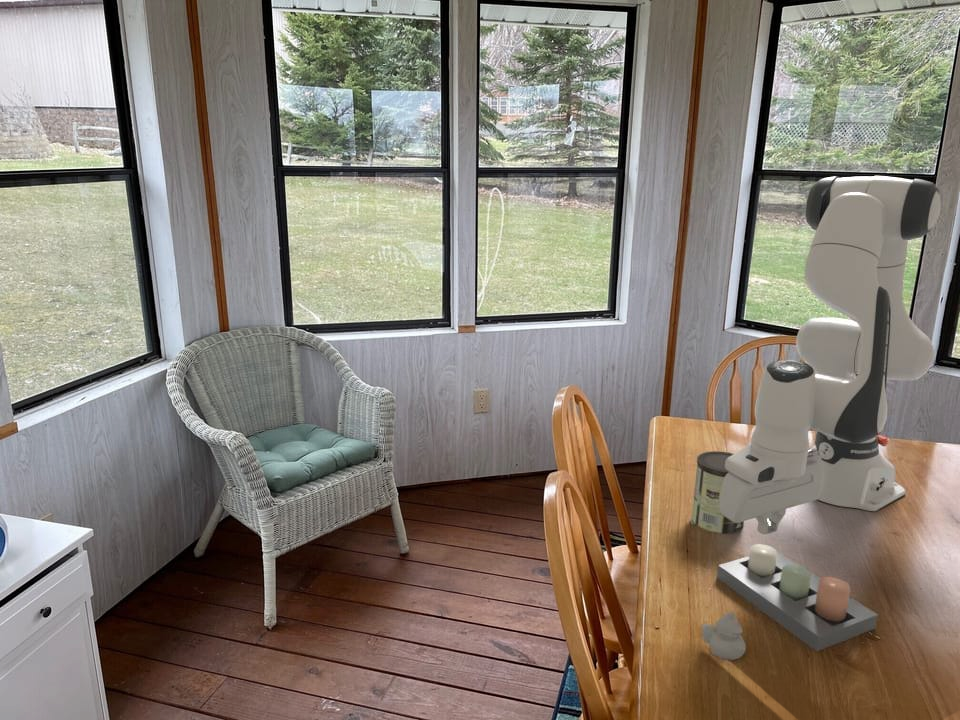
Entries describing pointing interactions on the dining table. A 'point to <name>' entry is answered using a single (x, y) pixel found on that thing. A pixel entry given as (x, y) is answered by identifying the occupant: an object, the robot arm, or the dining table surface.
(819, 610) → the terracotta button
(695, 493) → the coffee can
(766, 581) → the grey rectangular tray
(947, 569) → the dining table surface
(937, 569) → the dining table surface
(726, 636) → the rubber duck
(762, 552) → the ivory button
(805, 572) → the sage button
